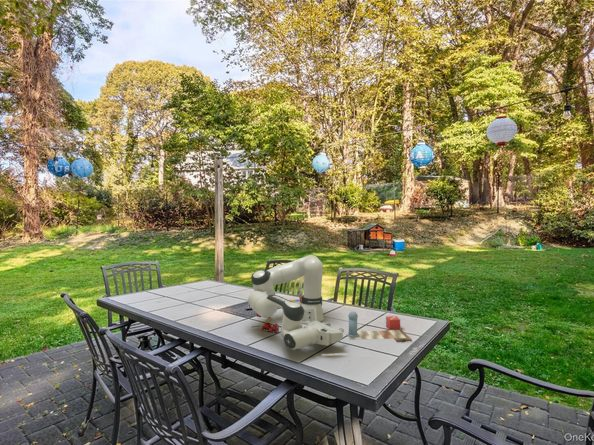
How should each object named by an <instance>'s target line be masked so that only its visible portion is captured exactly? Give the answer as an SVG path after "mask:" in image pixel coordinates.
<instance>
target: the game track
mask: <svg viewBox="0 0 594 445" xmlns="http://www.w3.org/2000/svg"><path fill="white" fill-rule="evenodd" d="M345 333H346V335H347V338H348V339H349V341H352V340H356V341H357V340H386V339H387V340H388V339H390V340H391V339H392V340H394V341H395V342H396V343H407V342H406V341H413V340H412V338H411V337H410V336H409V335H408V334H407V333H406V332H405V331H404V330H403V329H401V328H400V330H389V329H386V330H367V331H366V330H361V331H359V330H357V333H358V337H349V336H348V333H349V331H345Z"/></svg>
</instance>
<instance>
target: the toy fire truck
mask: <svg viewBox="0 0 594 445" xmlns="http://www.w3.org/2000/svg"><path fill="white" fill-rule="evenodd" d="M256 317H257V318H262V317H261V316H260V315H258V314H257V313H256ZM272 319H273V318H272V316H271V317H267V318H266V320H265V322H264V324H263V325H262V326H261V330H263V331H264V332H265V331H266V332H267V333H268V332H271V333H273V334H277V333H279V332H280V327H279V326H280V325H279V324H278V323H277V322H275V323H273V324H272V323H270V322H271V320H272Z"/></svg>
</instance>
